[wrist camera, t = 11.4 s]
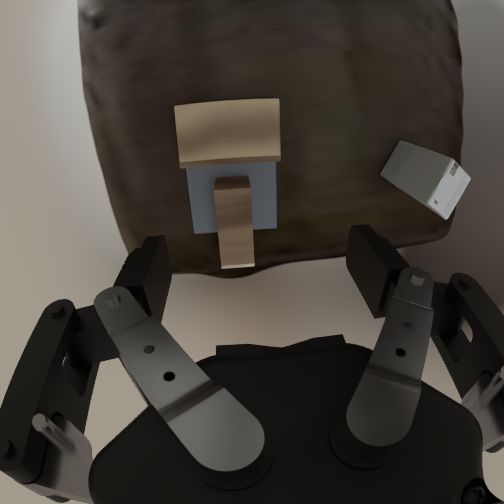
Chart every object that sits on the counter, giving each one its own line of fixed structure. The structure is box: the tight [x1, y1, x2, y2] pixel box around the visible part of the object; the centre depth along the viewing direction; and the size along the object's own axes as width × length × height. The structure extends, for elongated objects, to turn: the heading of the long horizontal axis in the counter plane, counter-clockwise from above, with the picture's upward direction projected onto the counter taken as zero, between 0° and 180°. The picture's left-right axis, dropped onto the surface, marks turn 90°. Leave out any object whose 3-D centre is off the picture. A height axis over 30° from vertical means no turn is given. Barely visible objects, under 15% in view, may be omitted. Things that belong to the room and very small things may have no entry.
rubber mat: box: [186, 162, 277, 234], centre depth 37 cm, size 10×11×1 cm
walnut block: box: [214, 176, 254, 268], centre depth 36 cm, size 5×4×10 cm
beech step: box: [174, 98, 281, 168], centre depth 31 cm, size 7×11×4 cm, turn 93°
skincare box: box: [380, 140, 471, 220], centre depth 31 cm, size 6×4×12 cm
